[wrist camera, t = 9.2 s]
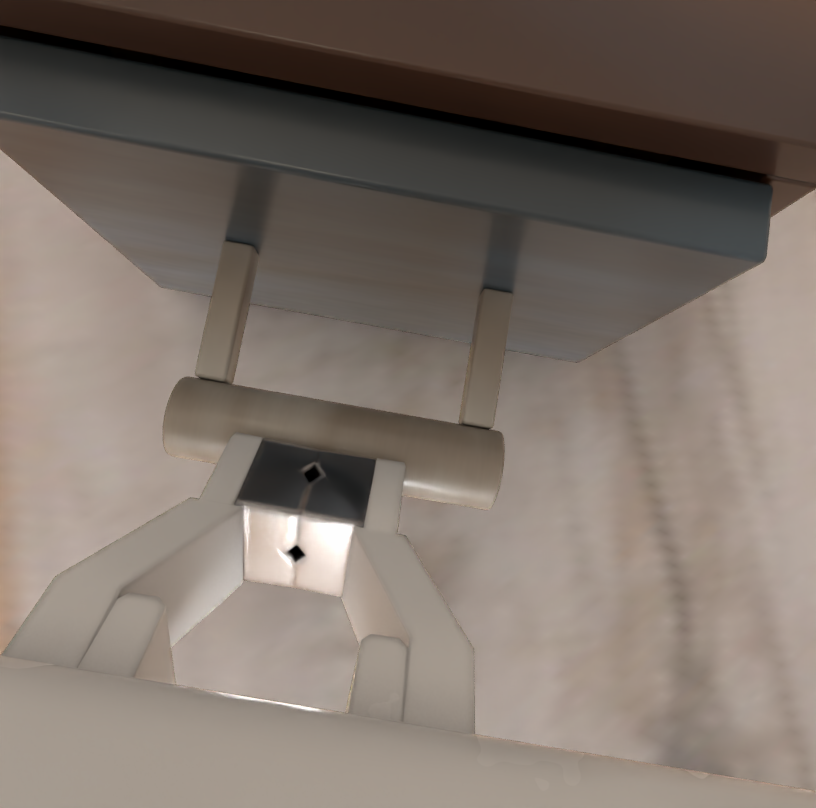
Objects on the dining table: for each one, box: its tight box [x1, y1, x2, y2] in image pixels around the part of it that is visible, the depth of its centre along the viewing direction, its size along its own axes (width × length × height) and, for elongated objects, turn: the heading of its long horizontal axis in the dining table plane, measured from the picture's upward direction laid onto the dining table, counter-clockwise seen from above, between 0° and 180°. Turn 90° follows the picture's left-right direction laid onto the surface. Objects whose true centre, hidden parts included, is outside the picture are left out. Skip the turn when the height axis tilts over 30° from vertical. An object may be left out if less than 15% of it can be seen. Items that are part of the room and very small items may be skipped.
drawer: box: [0, 35, 773, 510], centre depth 12 cm, size 17×11×8 cm
